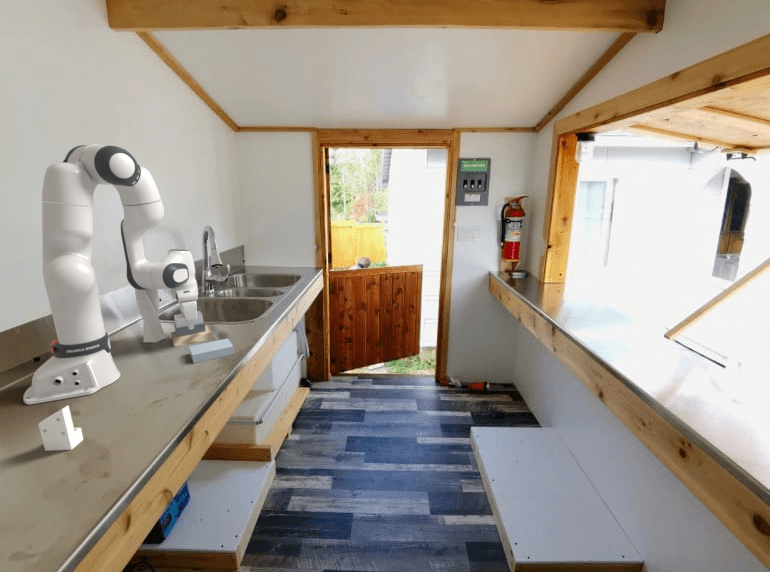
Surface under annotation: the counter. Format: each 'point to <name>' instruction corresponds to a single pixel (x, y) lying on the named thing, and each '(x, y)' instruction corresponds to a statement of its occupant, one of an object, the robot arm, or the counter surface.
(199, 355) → the stand
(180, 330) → the block
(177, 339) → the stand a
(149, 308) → the skyscraper
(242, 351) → the counter surface
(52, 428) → the white angled block
